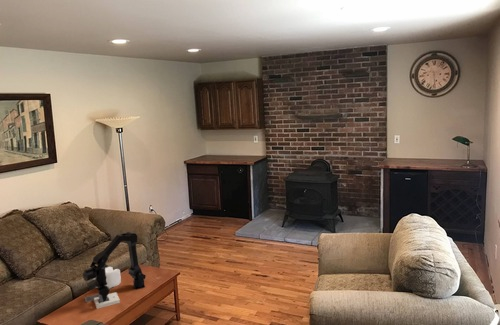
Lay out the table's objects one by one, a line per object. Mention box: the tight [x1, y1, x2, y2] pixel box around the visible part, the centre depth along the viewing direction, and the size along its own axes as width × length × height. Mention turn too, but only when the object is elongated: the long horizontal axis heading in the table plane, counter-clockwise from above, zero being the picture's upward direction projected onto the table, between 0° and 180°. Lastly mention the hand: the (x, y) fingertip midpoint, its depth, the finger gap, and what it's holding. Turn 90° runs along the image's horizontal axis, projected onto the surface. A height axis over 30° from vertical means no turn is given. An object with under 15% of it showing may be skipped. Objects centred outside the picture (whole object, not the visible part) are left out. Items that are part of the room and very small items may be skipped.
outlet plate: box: [93, 292, 121, 310], centre depth 256 cm, size 14×12×2 cm
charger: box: [99, 295, 108, 303], centre depth 254 cm, size 5×4×6 cm
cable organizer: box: [92, 266, 122, 290], centre depth 277 cm, size 15×11×12 cm
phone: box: [84, 293, 99, 303], centre depth 262 cm, size 7×14×1 cm, turn 117°
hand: (103, 298), depth 254 cm, fingers open, 9 cm apart
